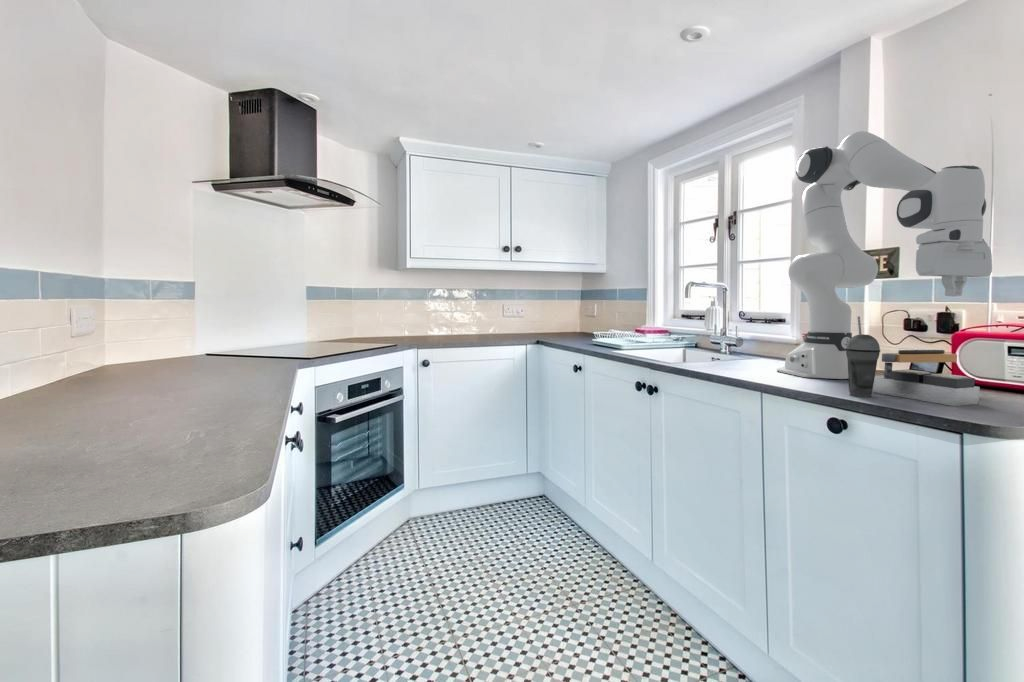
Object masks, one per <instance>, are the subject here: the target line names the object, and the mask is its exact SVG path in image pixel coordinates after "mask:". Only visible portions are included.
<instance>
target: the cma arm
mask: <svg viewBox="0 0 1024 682" xmlns="http://www.w3.org/2000/svg"><path fill="white" fill-rule="evenodd" d="M945 351H946V350H944V349H901V350H900V349H899V350H898V352H885V353H881V362H883V363H885V362H889V363H899V364H900V363H902V364H903V363H904V364H905V363H906V364H907V363H909V364H910V363H957V362H958V354H957V353H948V352H945Z"/></svg>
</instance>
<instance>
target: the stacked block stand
mask: <svg viewBox="0 0 1024 682" xmlns="http://www.w3.org/2000/svg"><path fill="white" fill-rule="evenodd" d="M883 371H884V372H883V374H884V375H875V378H874V384H873V391H872V393H877V394H882V395H888V396H895V397H898V398H899V397H900V398H906V399H911V400H916V401H923V402H929V403H934V404H941V405H947V406H951V407H959V406H960V407H961V406H968V405H969V406H970V405H971V406H972V405H979V402H980V388H981V387H980V386H975V381H976V379H975V378H974V377H968V376H966V375H964V376H963V375H956V374H950V373H949V374H947V373H934V372H930V371H924V370H917V369H908V368H907V369H896V370H893V362H884V370H883Z"/></svg>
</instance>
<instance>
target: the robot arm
mask: <svg viewBox="0 0 1024 682" xmlns="http://www.w3.org/2000/svg"><path fill="white" fill-rule="evenodd" d="M795 165H796V166H795V175H796V177H797V180H799V181H800V182H803V183H806V184H809V185H808V186H807V187H806V188H805V190H804V191H803V194H802V208H801V209H802V218H803V224H804V232H805V238H806V240H807V242H808V243H809V244H810V245H811V246H813V247H815V248H817V249H818V250H820V251H821V252H811V253H805V254H801V255H797V256H796V257H795V258H793V259H792V261H791V263H790V264H789V267H788V277H789V280H790V282H791V283H792V284H793V285H795V286H796V287H797V288H798V289H799V290H800V291H801V293H802V294H803V295H804V297H805V299H806V301H807V304H808V311H809V330H808V331H807V333H801V335H802V336H801V338H804V339H803V343H801V344H800V345H799V346H797V347H796V348H795V349H793V350H792V351H790V352H789V353H787V355H786V356H785V360H784V367H778V368H776V372H778V371H779V373H783V374H788V375H793V376H797V377H803V378H817V379H834V380H835V379H837V380H847V379H848V358H847V355H846V350H845V349H846V346H847V343H848V341H849V340H850V339H851V338H852V337H853V332H852V331H851V327H852V307H851V306H850V305H849V304H848V303H846V301H844V300H841V299H840V297H838V294H837V292H836V291H837V290H836V289H854V288H859V287H861V288H862V287H864V286H865V287H866V286H869V285H871V284H872V283H873V282H874V281H875V279H876V277H877V275H878V272H879V266H878V265H879V264H878V263H877V260H876V259H875V258H874V256H871V254H868V253H866V252H865V251H864V250H862V249H861V247H859V246H858V244H857V243H856V242H855V241H854V239H853V238H852V236H851V234H850V231H849V230H848V226H847V223H846V218H845V212H844V208H843V203H842V192H843V191H851V190H854V189H855V187H856V186H858V185H860V184H862V185H865V186H868V187H870V188H878V189H891V190H893V189H894V190H902V191H905V192H906V191H907V193H906V194H904V195H903V196H901V199H900V200H899V202H898V204H897V207H896V218H897V221H898V222H899V224H900V225H901V226H902V227H904V228H909V229H914V230H915V229H917V230H919V229H921V230H922V229H923V230H928V231H926V232H922V233H920V234H918V235H916V238H915V242H916V245H918V246H917V248H916V253H915V272H916V273H917V275H918V276H920V277H922V276H923V277H941V284H942V285H943V288H944V296H945V297H962V295H963V289H964V287H965V286H966V284H967V281H968V278H988V277H990V276H991V274H992V272H993V259H992V258H993V256H992V250H991V247H990V245H988V243H987V242H986V241H985V239H984V238H983V232H984V230H983V229H984V215H985V213H986V210H987V201H986V198H985V194H986V193H985V191H986V190H985V189H986V188H985V187H986V184H985V182H986V181H985V177H984V176H985V175H984V173H983V170H982V168H981V167H979V166H977V165H950V166H945V167H943V168H939V170H938V171H937V172H936V171H935V170H934V169H931V168H929V167H928V166H927V165H924V164H922V163H920V162H918V161H916V160H915V159H913V158H911V157H909V156H908V155H906V154H905V153H903V152H901V151H900V150H899V149H897V148H895V147H894V146H893V145H891V144H890V143H889V142H887V141H886V140H885V139H883V138H881V137H880V136H878V135H876V134H874V133H871V132H868V131H864V130H859V131H856V132H851V134H849V135H847V136H846V137H845V138H844V139H843V140H842V141H841V142H840V145H839V146H837V147H829V146H828V145H826V146H821V147H813V148H810V149H807V150H805V151H804V152H803V153H802V154H801V155H800V156H799V158H798V160H797V162H796V164H795ZM848 380H849V379H848Z"/></svg>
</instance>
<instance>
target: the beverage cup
mask: <svg viewBox="0 0 1024 682" xmlns="http://www.w3.org/2000/svg"><path fill="white" fill-rule="evenodd" d="M857 323H858V324H857V327H858V334H856V335H854V336H852V338H851V339H850V340H849V341H848V343H847V346H846V349H845V350H846V355H847V358H848V391H849V396H852V397H858V398H871V397H872V394H873V392H872V391H873V384H874V378H875V376H876V371H877V367H878V366H877V365H878V364H877V363H878V360H879V359H880V358H879V357H880V353H881V347H880V344H879V342H878V340H877V339H876V338H875V337H874V336H872V335H870V334H862V324H861V317H860V316H857Z"/></svg>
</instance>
